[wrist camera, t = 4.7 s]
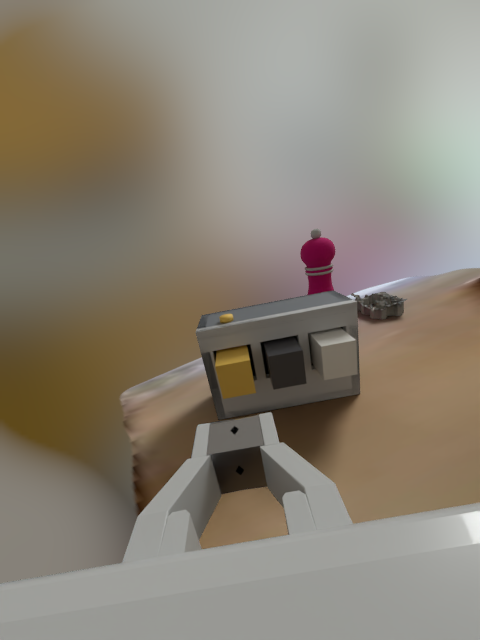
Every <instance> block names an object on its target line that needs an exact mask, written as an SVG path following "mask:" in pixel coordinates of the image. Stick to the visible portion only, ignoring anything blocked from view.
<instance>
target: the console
mask: <svg viewBox="0 0 480 640" xmlns="http://www.w3.org/2000/svg"><path fill="white" fill-rule="evenodd" d="M338 327H340V328H341V329H343V330H344V331H345V332H346V333H348V334H349V335H350V336H352V337H353V338H354V339H356V346H357V373H358V374H356V375H350V376H345V377H339V378H334V379H329V380H324V379H323V378H322V376H321V375H320V374H319V372H318V371H317V369H316V368H315V366H314V365H313V363H312V358H311V348H310V339H309V333H311V332H317V331H322V330H327V329H333V328H338ZM196 336H197V339H198V343H199V347H200V351H201V355H202V359H203V362H204V366H205V370H206V374H207V378H208V382H209V385H210V389H211V393H212V397H213V401H214V405H215V408H216V412H217V416H218V420H221V419H226V418H232V417H237V416H242V415H248V414H253V413H259V412H264V411H270V410H275V409H280V408H286V407H291V406H297V405H302V404H307V403H313V402H318V401H324V400H329V399H335V398H340V397H345V396H351V395H356V394H360V374H359V345H358V316H357V301H355V300H352V299H350V298H348V297H346V296H344V295H342V294H340V293H337V292H335V291H333V290H332V291H327V292H321V293H316V294H311V295H306V296H300V297H296V298H290V299H285V300H280V301H274V302H269V303H264V304H259V305H254V306H249V307H243V308H238V309H233V310H227V311H222V312H217V313H212V314H206V315H202V317H201V319H200V322H199V325H198V327H197V330H196ZM290 336H294V338H295V339H296V341H297V342H298V344H299V345H300V347H301V348H302V350H303V356H304V365H305V374H306V382H307V384H302V385H296V386H291V387H286V388H280V389H275V390H273V386H272V383H271V380H270V377H269V373H268V369H267V363H266V357H265V351H264V346H263V342H264V341H269V340H274V339H280V338H285V337H290ZM243 345H247V347H248V353H249V358H250V363H251V368H252V373H253V379H254V384H255V390H256V393H253V394H248V395H242V396H237V397H232V398H226V399H223V397H222V392H221V388H220V384H219V380H218V376H217V372H216V368H215V363H216V354H217V350H221V349H227V348H232V347H237V346H243Z"/></svg>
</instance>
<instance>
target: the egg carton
mask: <svg viewBox="0 0 480 640" xmlns="http://www.w3.org/2000/svg"><path fill="white" fill-rule="evenodd" d="M351 295H353V296H354V297H356V299H355V301H357V310H361V313H362V314H370V318H372V319H386V316H401V315H402V313H403V311H404V303H403V302H404V301H405V300H407V299H402V298H401V299H400V298H398V297H397V296H392V295H389V294H387V293H386V292H380V293H377V294H372V295H370V296H368V295H365V298H363V299H360V296H359V295H354V294H353V293H352V294H351ZM369 304H370V305H369ZM372 304H375V307H372Z"/></svg>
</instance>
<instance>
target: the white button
mask: <svg viewBox="0 0 480 640" xmlns="http://www.w3.org/2000/svg"><path fill="white" fill-rule="evenodd" d="M309 339H310V348H311V358H312V363H313V365H314V366H315V368H316V369H317V371H318V372H319V374H320V375H321V376H322V378H323V379H324V380H329V379H334V378H339V377H345V376H350V375H356V374H358V373H357V346H356V339H354V338H353V337H352V336H350V335H349V334H348V333H346V332H345V331H344V330H343V329H341V328H340V327H338V328H333V329H327V330H322V331H317V332H311V333H309Z"/></svg>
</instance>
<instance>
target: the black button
mask: <svg viewBox="0 0 480 640" xmlns="http://www.w3.org/2000/svg"><path fill="white" fill-rule="evenodd" d="M263 346H264V351H265V357H266V363H267V369H268V373H269V377H270V380H271V383H272V386H273V390H275V389H280V388H286V387H291V386H296V385H302V384H307V382H306V374H305V365H304V356H303V350H302V348H301V347H300V345H299V344H298V342H297V341H296V339H295V338H294V336H290V337H285V338H280V339H274V340H269V341H264V342H263Z"/></svg>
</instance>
